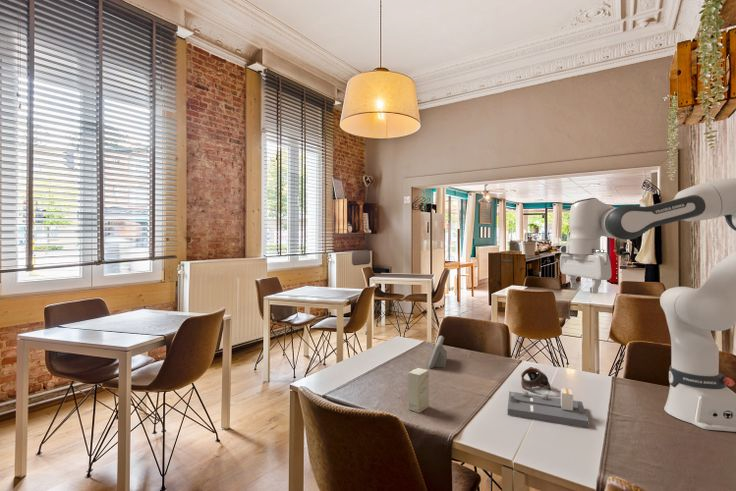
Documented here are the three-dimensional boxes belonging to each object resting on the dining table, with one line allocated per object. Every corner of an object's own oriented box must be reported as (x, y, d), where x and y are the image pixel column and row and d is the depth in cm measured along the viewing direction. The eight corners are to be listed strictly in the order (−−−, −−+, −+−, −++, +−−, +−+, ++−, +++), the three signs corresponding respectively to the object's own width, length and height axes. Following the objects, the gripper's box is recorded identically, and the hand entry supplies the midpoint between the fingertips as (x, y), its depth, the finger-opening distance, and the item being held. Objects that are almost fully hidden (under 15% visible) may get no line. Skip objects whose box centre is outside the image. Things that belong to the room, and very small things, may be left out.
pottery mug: (556, 395, 135) (548, 376, 133) (531, 404, 137) (522, 387, 135) (544, 374, 146) (535, 357, 144) (520, 383, 148) (512, 367, 146)
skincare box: (419, 413, 120) (419, 375, 120) (407, 409, 123) (407, 372, 123) (429, 406, 125) (429, 369, 125) (417, 402, 128) (417, 366, 128)
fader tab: (571, 405, 120) (571, 388, 120) (572, 410, 117) (572, 393, 116) (560, 403, 121) (560, 387, 121) (561, 409, 118) (561, 392, 118)
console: (581, 407, 124) (581, 395, 123) (588, 428, 111) (588, 414, 111) (509, 397, 132) (509, 385, 132) (507, 414, 119) (507, 402, 119)
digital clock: (433, 356, 177) (433, 333, 176) (452, 359, 172) (452, 336, 172) (421, 367, 162) (420, 342, 162) (441, 371, 158) (441, 345, 158)
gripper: (617, 249, 114) (617, 295, 114) (573, 247, 134) (573, 286, 135) (597, 249, 113) (597, 296, 114) (556, 247, 134) (556, 287, 134)
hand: (583, 291), depth 124 cm, fingers open, 8 cm apart
